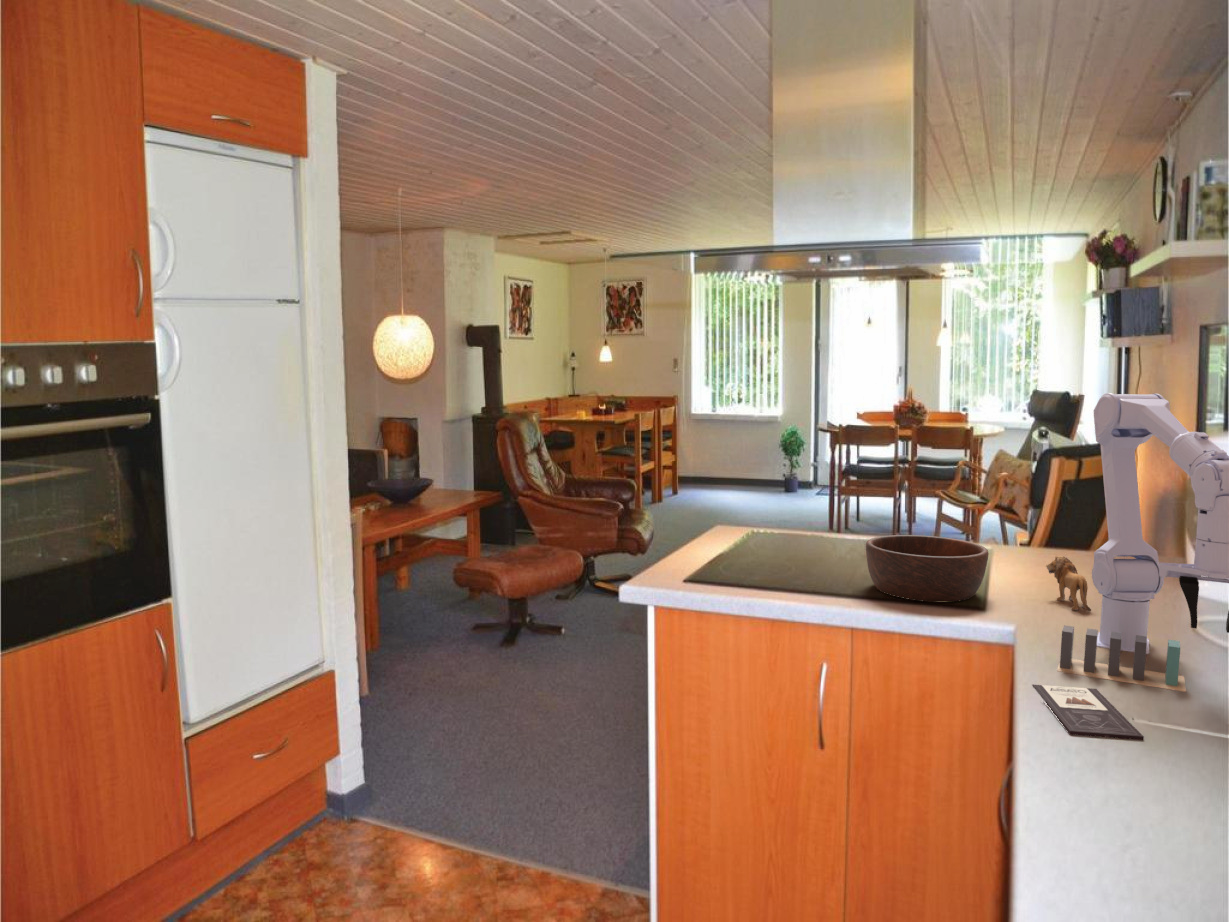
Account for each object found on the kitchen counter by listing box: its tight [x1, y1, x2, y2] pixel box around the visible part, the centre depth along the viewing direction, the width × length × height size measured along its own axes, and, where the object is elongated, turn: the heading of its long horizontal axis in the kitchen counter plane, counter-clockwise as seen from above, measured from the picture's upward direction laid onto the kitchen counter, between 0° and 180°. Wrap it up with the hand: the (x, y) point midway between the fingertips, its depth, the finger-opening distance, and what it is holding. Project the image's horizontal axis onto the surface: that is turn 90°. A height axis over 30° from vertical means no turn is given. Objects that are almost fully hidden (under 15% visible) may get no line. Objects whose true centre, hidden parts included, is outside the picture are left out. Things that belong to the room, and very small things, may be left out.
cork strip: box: [1056, 658, 1187, 693], centre depth 144 cm, size 8×17×1 cm, turn 60°
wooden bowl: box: [865, 534, 990, 602], centre depth 197 cm, size 25×25×10 cm
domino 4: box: [1132, 635, 1148, 681], centre depth 143 cm, size 2×4×6 cm, turn 150°
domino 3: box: [1108, 632, 1122, 677], centre depth 144 cm, size 2×4×6 cm, turn 150°
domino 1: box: [1059, 625, 1075, 669], centre depth 148 cm, size 2×4×6 cm, turn 150°
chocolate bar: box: [1031, 684, 1145, 741], centre depth 129 cm, size 9×1×18 cm
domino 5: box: [1165, 639, 1181, 686], centre depth 141 cm, size 2×4×6 cm, turn 150°
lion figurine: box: [1045, 555, 1092, 612], centre depth 188 cm, size 15×5×9 cm, turn 2°
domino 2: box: [1083, 628, 1099, 673], centre depth 146 cm, size 2×4×6 cm, turn 150°
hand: (1211, 629), depth 138 cm, fingers open, 4 cm apart
